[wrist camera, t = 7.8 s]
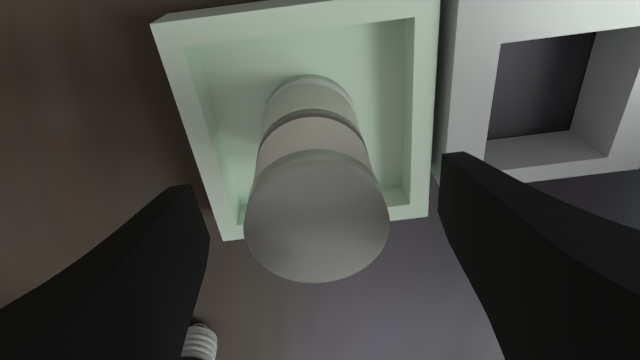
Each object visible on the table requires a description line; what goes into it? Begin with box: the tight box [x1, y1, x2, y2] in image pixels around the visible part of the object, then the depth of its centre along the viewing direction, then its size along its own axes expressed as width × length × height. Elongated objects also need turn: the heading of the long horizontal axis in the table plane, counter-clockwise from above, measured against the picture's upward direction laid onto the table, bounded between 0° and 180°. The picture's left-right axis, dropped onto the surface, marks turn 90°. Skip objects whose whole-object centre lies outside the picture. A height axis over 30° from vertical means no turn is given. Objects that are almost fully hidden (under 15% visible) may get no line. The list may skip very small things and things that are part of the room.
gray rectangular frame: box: [430, 0, 640, 185], centre depth 13 cm, size 8×13×2 cm, turn 6°
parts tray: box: [149, 0, 440, 241], centre depth 15 cm, size 9×9×2 cm
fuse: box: [243, 74, 390, 283], centre depth 12 cm, size 4×4×7 cm
